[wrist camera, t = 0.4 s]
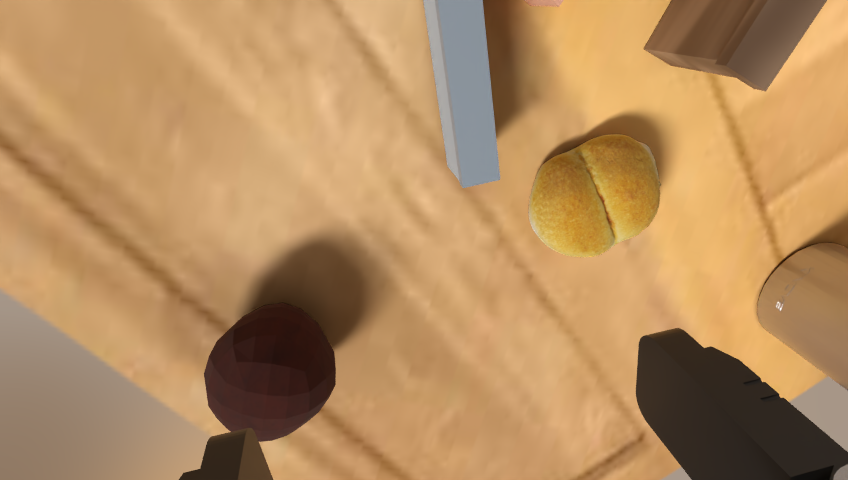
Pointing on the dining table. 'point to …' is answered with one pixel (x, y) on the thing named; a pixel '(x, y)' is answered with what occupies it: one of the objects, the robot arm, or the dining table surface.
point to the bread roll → (595, 196)
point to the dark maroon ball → (270, 372)
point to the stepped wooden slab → (733, 36)
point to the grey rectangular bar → (463, 88)
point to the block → (544, 2)
